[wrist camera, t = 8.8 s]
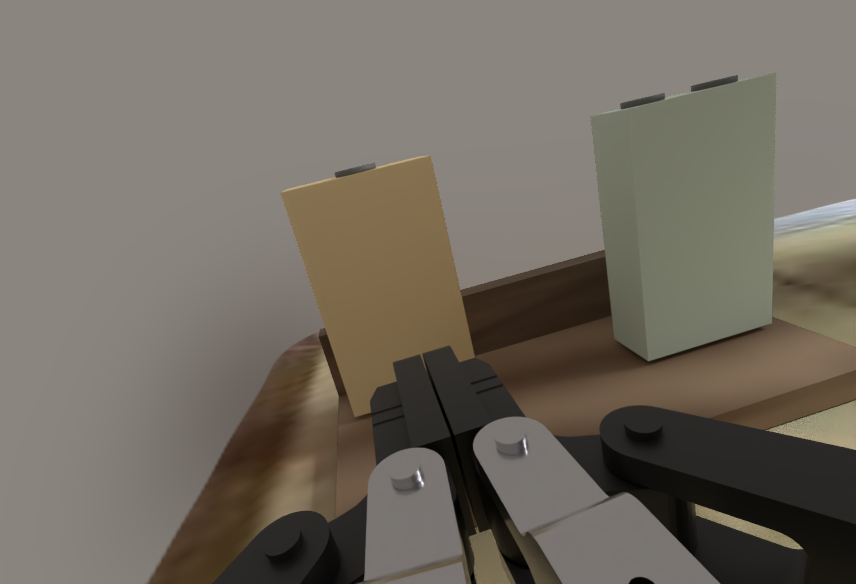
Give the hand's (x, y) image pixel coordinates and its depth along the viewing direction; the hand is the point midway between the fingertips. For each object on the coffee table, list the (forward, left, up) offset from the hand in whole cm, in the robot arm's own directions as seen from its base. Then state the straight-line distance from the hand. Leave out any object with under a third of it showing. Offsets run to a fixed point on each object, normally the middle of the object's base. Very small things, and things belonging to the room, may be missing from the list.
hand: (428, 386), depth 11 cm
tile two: (-18, +1, -7) cm, 19 cm away
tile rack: (-12, -4, -9) cm, 15 cm away
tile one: (-7, -10, -7) cm, 14 cm away
